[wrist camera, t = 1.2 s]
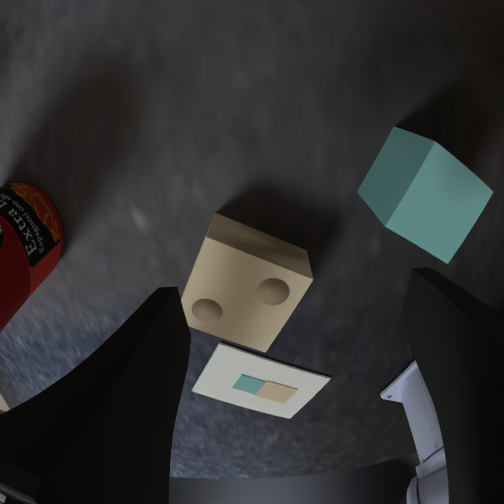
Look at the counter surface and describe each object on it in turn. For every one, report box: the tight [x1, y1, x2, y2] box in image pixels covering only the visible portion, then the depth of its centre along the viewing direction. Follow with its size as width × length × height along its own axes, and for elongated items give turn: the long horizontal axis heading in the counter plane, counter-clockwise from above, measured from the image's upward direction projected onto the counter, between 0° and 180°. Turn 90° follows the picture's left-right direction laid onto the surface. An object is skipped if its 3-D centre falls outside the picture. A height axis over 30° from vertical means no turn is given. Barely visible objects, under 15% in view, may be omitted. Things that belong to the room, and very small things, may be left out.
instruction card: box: [192, 342, 331, 419], centre depth 26 cm, size 10×7×1 cm
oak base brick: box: [181, 213, 313, 352], centre depth 19 cm, size 6×6×4 cm
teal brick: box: [357, 127, 493, 264], centre depth 15 cm, size 4×4×5 cm
